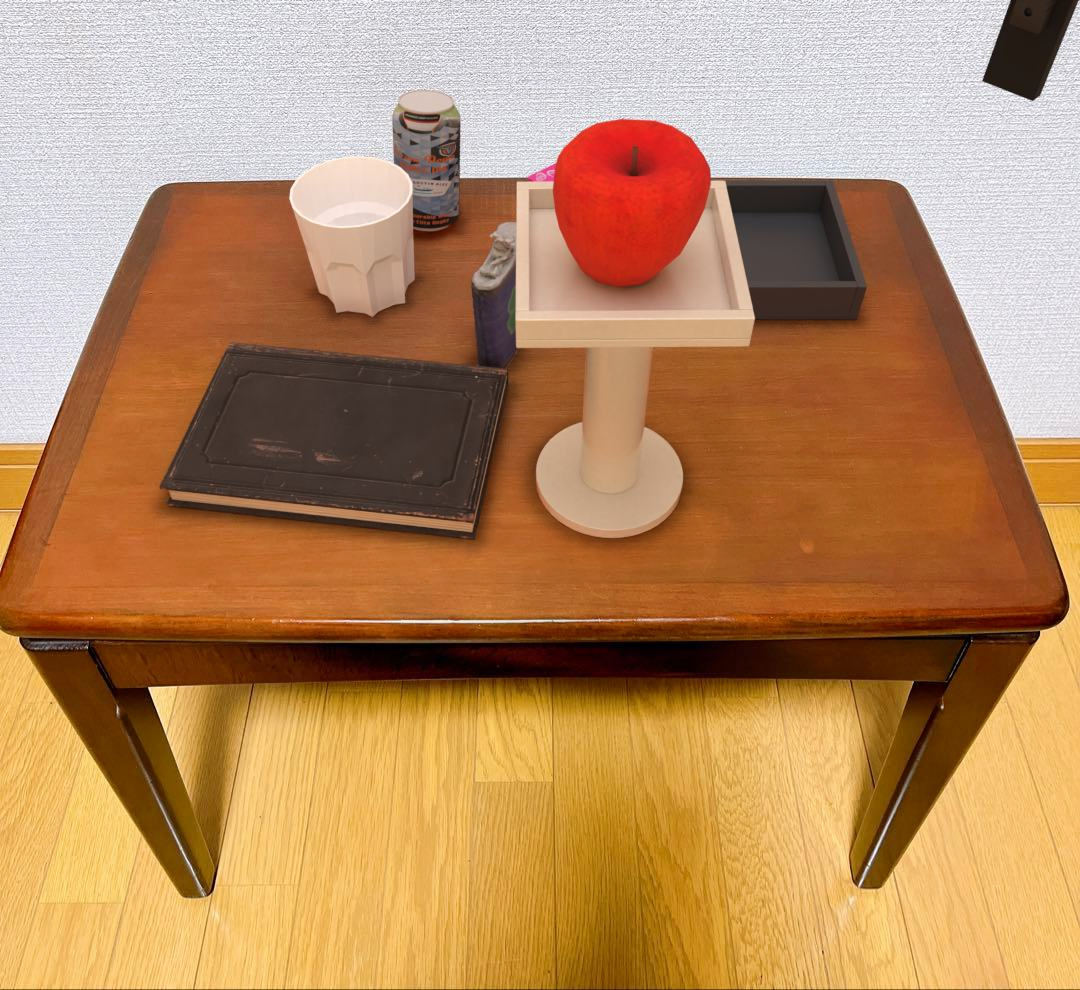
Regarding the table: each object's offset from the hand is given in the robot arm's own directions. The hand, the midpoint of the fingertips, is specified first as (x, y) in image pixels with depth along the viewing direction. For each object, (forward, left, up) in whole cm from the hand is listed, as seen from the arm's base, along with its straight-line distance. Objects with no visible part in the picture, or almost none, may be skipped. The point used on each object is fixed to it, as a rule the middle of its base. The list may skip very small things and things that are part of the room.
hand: (1074, 41), depth 53 cm
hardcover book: (+33, +27, -33) cm, 54 cm away
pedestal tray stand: (+15, +17, -33) cm, 40 cm away
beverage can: (+49, +3, -33) cm, 59 cm away
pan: (+22, -12, -33) cm, 41 cm away
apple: (+15, +17, -13) cm, 26 cm away
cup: (+46, +14, -33) cm, 58 cm away
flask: (+32, +11, -33) cm, 47 cm away
